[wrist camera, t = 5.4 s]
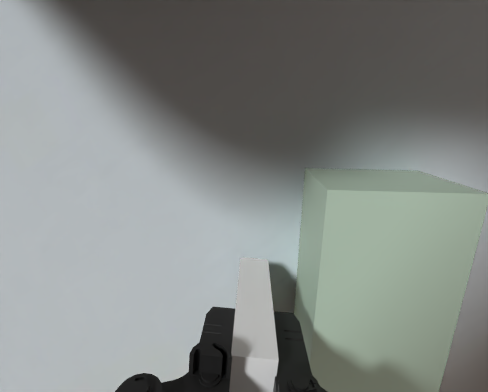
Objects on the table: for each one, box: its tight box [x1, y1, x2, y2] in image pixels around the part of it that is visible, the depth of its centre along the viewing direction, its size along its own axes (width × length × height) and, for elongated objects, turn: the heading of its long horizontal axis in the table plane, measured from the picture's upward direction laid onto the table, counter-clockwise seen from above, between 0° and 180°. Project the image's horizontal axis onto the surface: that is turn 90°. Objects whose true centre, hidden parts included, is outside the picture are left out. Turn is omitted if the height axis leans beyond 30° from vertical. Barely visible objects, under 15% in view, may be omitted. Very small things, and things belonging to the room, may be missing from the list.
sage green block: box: [294, 168, 488, 392], centre depth 14 cm, size 12×6×5 cm, turn 179°
